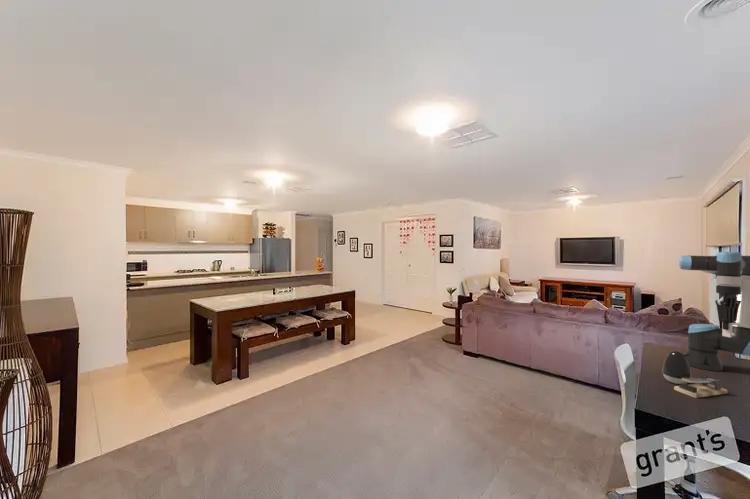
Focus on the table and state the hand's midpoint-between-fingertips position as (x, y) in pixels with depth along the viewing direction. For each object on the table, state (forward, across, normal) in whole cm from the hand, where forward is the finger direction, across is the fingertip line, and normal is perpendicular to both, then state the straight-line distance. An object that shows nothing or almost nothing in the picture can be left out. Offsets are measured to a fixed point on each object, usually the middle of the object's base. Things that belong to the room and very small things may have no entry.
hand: (727, 336), depth 144 cm
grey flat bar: (+20, +16, -1) cm, 26 cm away
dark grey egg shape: (+25, +14, -11) cm, 30 cm away
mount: (+24, +15, -1) cm, 29 cm away
